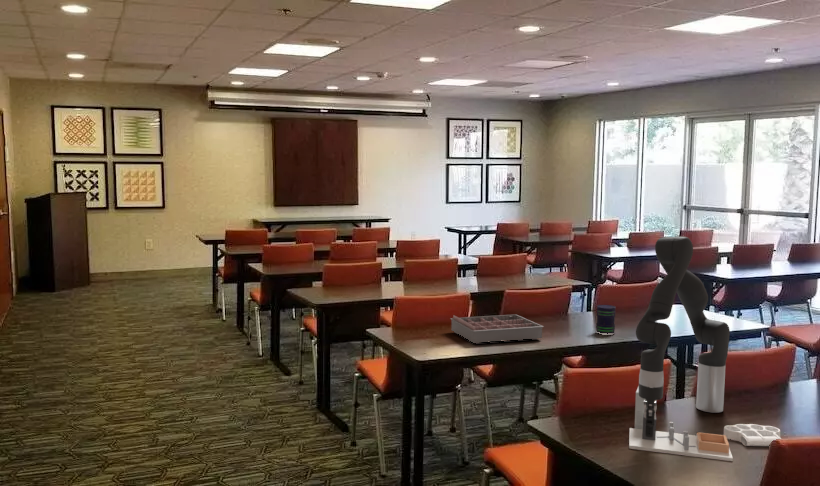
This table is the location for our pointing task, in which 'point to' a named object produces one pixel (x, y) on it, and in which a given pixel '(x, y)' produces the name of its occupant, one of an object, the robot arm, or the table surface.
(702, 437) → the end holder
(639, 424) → the small box
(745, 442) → the white brass knuckles
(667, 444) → the board
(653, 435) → the dark grey block
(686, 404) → the table surface
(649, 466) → the table surface
